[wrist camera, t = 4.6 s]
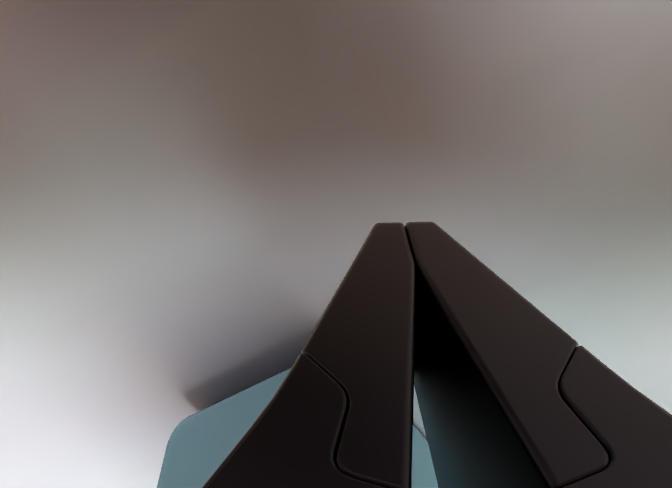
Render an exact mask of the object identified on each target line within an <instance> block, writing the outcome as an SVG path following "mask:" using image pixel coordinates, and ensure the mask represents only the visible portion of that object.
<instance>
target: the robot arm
mask: <svg viewBox="0 0 672 488" xmlns="http://www.w3.org/2000/svg"><path fill="white" fill-rule="evenodd" d="M414 386H415V390H416V395H417V399H418V403H419V407H420V412H421V416H422V420H423V424H424V428H425V433H426V437H427V441H428V445H429V450H430V454H431V458H432V462H433V467H434V471H435V475H436V479H437V484H438V488H672V415H671V414H670V413H668V412H667V411H665V410H664V409H663V408H661V407H660V406H658V405H657V404H656V403H654V402H653V401H652V400H650V399H649V398H647V397H646V396H645V395H643V394H642V393H640V392H639V391H638V390H636V389H635V388H633V387H632V386H631V385H630V384H628V383H627V382H626V381H625V380H623V379H622V378H621V377H620V376H618V375H617V374H616V373H615V372H613V371H612V370H611V369H609V368H608V367H607V366H606V365H604V364H603V363H602V362H601V361H599V360H598V359H597V358H596V357H595V356H593V355H592V354H591V353H590V352H589V351H587V350H586V349H585V348H584V347H583V346H578V343H577V342H576V341H575V340H574V339H573V338H572V337H570V336H569V335H568V334H567V333H566V332H564V331H563V330H562V329H561V328H560V327H558V326H557V325H556V324H555V323H554V322H552V321H551V320H550V319H549V318H548V317H546V316H545V315H544V314H543V313H542V312H540V311H539V310H538V309H537V308H536V307H534V306H533V305H532V304H531V303H530V302H528V301H527V300H526V299H525V298H524V297H522V296H521V295H520V294H519V293H518V292H517V291H515V290H514V289H513V288H512V287H511V286H509V285H508V284H507V283H506V282H505V281H503V280H502V279H501V278H500V277H499V276H497V275H496V274H495V273H494V272H493V271H491V270H490V269H489V268H488V267H487V266H485V265H484V264H483V263H482V262H481V261H479V260H478V259H477V258H476V257H475V256H473V255H472V254H471V253H470V252H469V251H467V250H466V249H465V248H464V247H463V246H461V245H460V244H459V243H458V242H457V241H455V240H454V239H453V238H452V237H451V236H449V235H448V234H447V233H446V232H445V231H443V230H442V229H441V228H440V227H439V226H437V225H436V224H435V223H433V222H409V223H407V224H406V225H405V227H404V225H403V224H402V223H377V224H376V225H375V226H374V227H373V229H372V231H371V232H370V234H369V236H368V237H367V239H366V241H365V243H364V244H363V246H362V248H361V249H360V251H359V253H358V255H357V256H356V258H355V260H354V261H353V263H352V265H351V267H350V268H349V270H348V272H347V273H346V275H345V277H344V279H343V280H342V282H341V284H340V285H339V287H338V289H337V291H336V292H335V294H334V296H333V297H332V299H331V301H330V303H329V304H328V306H327V308H326V310H325V311H324V313H323V315H322V316H321V318H320V320H319V322H318V323H317V325H316V327H315V328H314V330H313V332H312V334H311V335H310V337H309V339H308V340H307V342H306V344H305V346H304V347H303V349H302V351H301V354H299V355H298V357H297V359H296V361H295V362H294V364H293V366H292V367H291V369H290V371H289V373H288V374H287V376H286V377H285V379H284V380H283V382H282V383H281V385H280V387H279V388H278V390H277V391H276V393H275V394H274V396H273V397H272V399H271V400H270V402H269V403H268V404H267V406H266V407H265V408H264V410H263V411H262V412H261V414H260V415H259V416H258V418H257V419H256V420H255V422H254V423H253V424H252V425H251V427H250V428H249V429H248V431H247V432H246V433H245V434H244V436H243V437H242V438H241V439H240V440H239V442H238V443H237V444H236V445H235V447H234V448H233V449H232V450H231V452H230V453H229V454H228V455H227V457H226V458H225V459H224V460H223V461H222V463H221V464H220V465H219V466H218V468H217V469H216V470H215V471H214V473H213V474H212V475H211V476H210V478H209V479H208V480H207V481H206V483H205V484H204V485H203V486H202V487H201V488H412V443H413V398H414Z"/></svg>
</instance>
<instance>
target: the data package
mask: <svg viewBox="0 0 672 488" xmlns="http://www.w3.org/2000/svg"><path fill="white" fill-rule="evenodd" d="M290 369H291V368H289V369H287V370H285V371H283V372H281V373H279V374H277V375H275V376H273V377H271V378H268V379H266V380H264V381H262V382H260V383H258V384H256V385H254V386H252V387H250V388H248V389H245V390H243V391H241V392H239V393H237V394H235V395H233V396H231V397H229V398H227V399H225V400H222V401H220V402H218V403H216V404H214V405H212V406H210V407H208V408H206V409H204V410H201V411H199V412H197V413H195V414H193V415H191V416H189V417H187V418H186V419H184V420H183V421H181V423H180V424H179V425H178V426H177V427H176V428H175V430H174V431H173V433H172V435H171V437H170V439H169V441H168V444H167V448H166V452H165V456H164V460H163V464H162V468H161V473H160V477H159V481H158V485H157V488H201V487H202V486H203V485H204V484H205V483H206V481H207V480H208V479H209V478H210V476H211V475H212V474H213V473H214V471H215V470H216V469H217V468H218V466H219V465H220V464H221V463H222V461H223V460H224V459H225V458H226V457H227V455H228V454H229V453H230V452H231V450H232V449H233V448H234V447H235V445H236V444H237V443H238V442H239V440H240V439H241V438H242V437H243V436H244V434H245V433H246V432H247V431H248V429H249V428H250V427H251V425H252V424H253V423H254V422H255V420H256V419H257V418H258V416H259V415H260V414H261V412H262V411H263V410H264V408H265V407H266V406H267V404H268V403H269V402H270V400H271V399H272V397H273V396H274V394H275V393H276V391H277V390H278V388H279V387H280V385H281V383H282V382H283V380H284V379H285V377H286V376H287V374H288V373H289V371H290ZM412 488H438V484H437V479H436V475H435V471H434V467H433V462H432V458H431V454H430V450H429V445H428V441H427V440H426V439H425V438H424V437H423V435H422V434H421V433H420V432H419V431H418V430H417V428H416V427H415V426H414V425H413V443H412Z"/></svg>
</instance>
